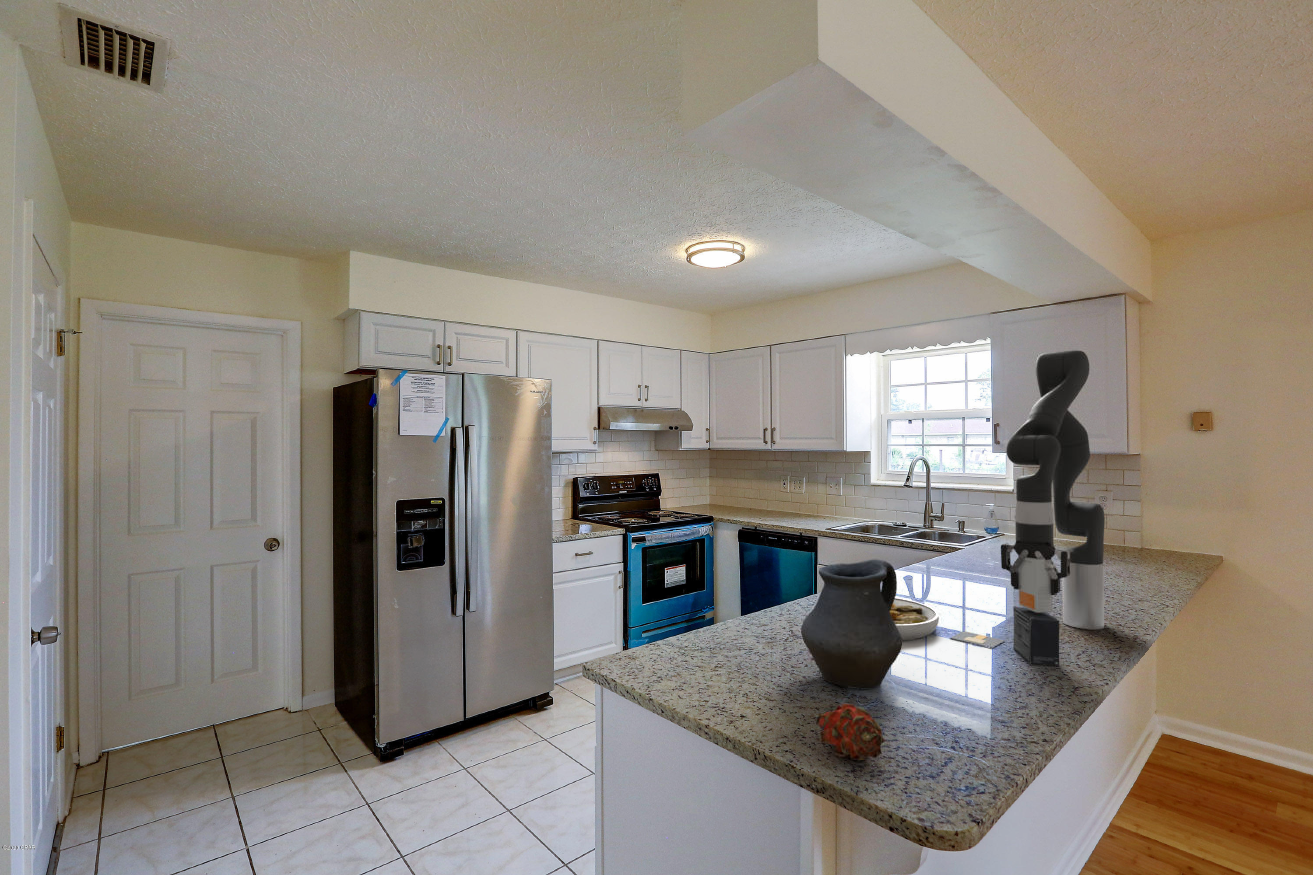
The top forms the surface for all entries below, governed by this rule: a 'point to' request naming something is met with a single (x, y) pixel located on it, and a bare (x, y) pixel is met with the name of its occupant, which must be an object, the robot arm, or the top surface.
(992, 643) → the card
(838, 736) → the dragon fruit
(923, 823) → the top surface
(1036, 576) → the skincare box
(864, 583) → the pitcher
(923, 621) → the bowl
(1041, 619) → the small box
